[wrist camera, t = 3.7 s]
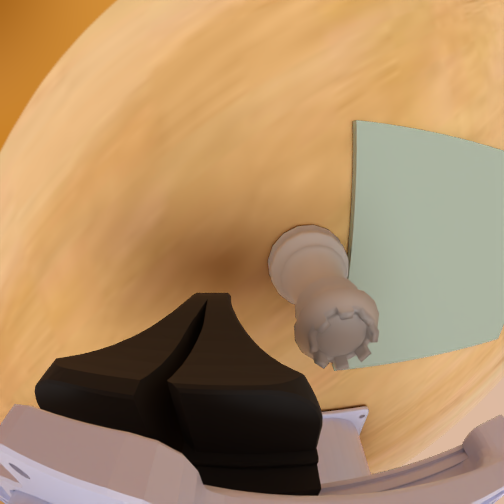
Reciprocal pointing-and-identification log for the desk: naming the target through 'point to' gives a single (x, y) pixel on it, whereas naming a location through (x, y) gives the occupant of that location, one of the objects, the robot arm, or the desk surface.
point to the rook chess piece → (323, 296)
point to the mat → (426, 240)
